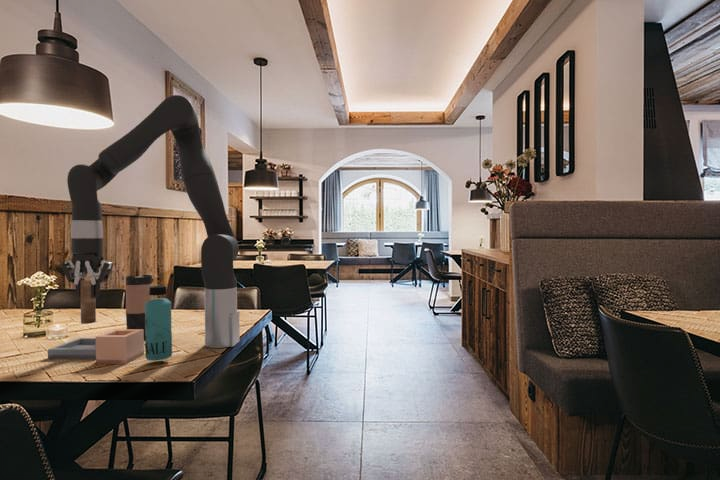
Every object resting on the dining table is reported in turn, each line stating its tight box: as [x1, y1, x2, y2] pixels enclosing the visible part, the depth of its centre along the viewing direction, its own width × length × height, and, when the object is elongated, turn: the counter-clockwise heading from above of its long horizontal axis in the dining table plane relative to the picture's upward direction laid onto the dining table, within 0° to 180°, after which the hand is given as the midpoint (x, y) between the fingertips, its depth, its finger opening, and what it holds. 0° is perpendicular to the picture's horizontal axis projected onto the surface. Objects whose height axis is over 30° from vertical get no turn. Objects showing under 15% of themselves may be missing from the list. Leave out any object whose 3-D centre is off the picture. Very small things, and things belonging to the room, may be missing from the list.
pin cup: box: [95, 328, 145, 365], centre depth 107 cm, size 8×8×7 cm
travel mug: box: [125, 274, 154, 341], centre depth 128 cm, size 8×8×20 cm
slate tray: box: [47, 337, 96, 360], centre depth 114 cm, size 14×12×2 cm
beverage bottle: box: [144, 285, 174, 361], centre depth 104 cm, size 6×7×20 cm
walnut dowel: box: [80, 279, 97, 325], centre depth 113 cm, size 4×4×12 cm
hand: (88, 297), depth 113 cm, fingers closed on walnut dowel, 3 cm apart
